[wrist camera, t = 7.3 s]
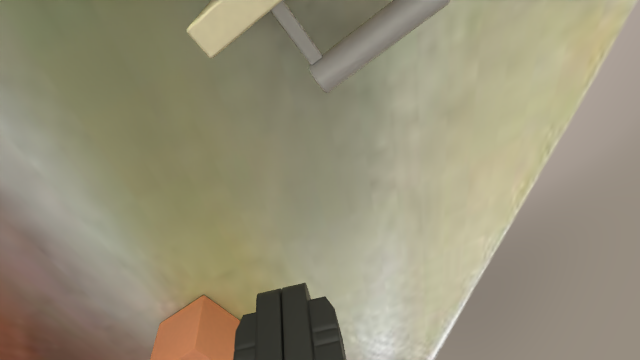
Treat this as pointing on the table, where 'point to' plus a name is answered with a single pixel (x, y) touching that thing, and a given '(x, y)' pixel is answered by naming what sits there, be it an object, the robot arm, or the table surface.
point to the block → (197, 333)
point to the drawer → (328, 69)
